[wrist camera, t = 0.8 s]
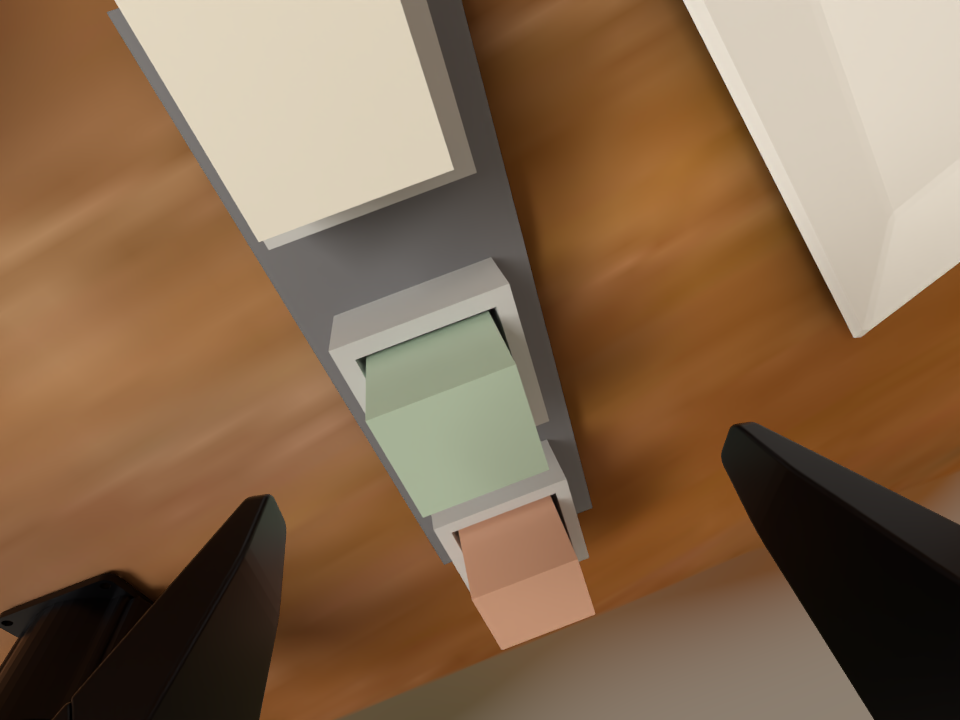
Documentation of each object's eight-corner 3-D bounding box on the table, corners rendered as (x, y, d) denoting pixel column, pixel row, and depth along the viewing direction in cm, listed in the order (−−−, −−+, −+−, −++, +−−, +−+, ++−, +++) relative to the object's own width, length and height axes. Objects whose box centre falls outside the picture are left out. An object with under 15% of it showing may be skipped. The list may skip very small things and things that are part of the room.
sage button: (414, 445, 20) (423, 517, 17) (366, 356, 18) (365, 421, 14) (519, 406, 20) (549, 469, 17) (488, 310, 18) (515, 364, 14)
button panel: (442, 553, 30) (451, 610, 27) (119, 16, 14) (45, -4, 11) (587, 498, 30) (613, 548, 27) (430, -99, 14) (448, -151, 11)
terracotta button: (485, 577, 26) (501, 650, 23) (457, 526, 24) (471, 599, 20) (566, 546, 26) (595, 614, 23) (548, 491, 24) (577, 559, 20)
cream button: (284, 204, 14) (258, 242, 11) (181, 13, 12) (105, -14, 8) (434, 149, 14) (454, 169, 11) (366, -55, 12) (365, -109, 8)
